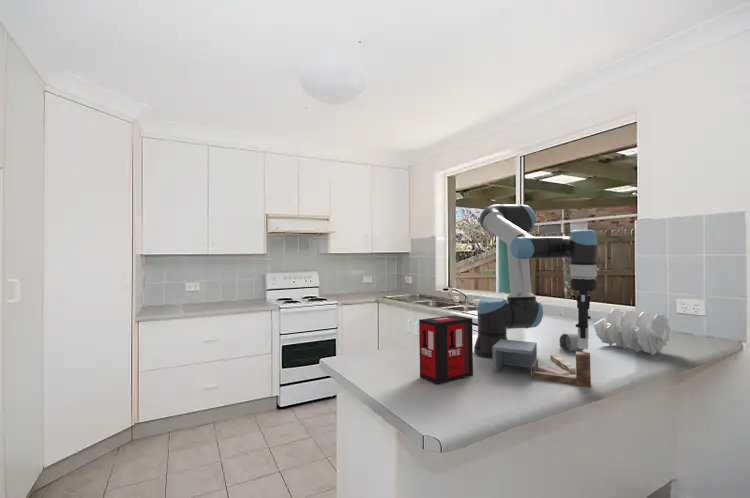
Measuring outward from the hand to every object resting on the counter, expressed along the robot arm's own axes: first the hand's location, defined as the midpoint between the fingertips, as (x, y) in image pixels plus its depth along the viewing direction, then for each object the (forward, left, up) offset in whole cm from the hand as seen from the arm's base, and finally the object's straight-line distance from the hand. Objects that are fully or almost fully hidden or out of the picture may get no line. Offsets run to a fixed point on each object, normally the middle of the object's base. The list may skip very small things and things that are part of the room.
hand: (583, 343), depth 122 cm
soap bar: (-10, +6, -14) cm, 18 cm away
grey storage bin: (-22, +6, -13) cm, 26 cm away
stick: (-8, +20, -14) cm, 25 cm away
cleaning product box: (-42, -13, -13) cm, 46 cm away
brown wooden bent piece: (-7, +3, -13) cm, 15 cm away
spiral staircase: (+17, +60, -13) cm, 63 cm away
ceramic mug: (-6, +46, -14) cm, 49 cm away
